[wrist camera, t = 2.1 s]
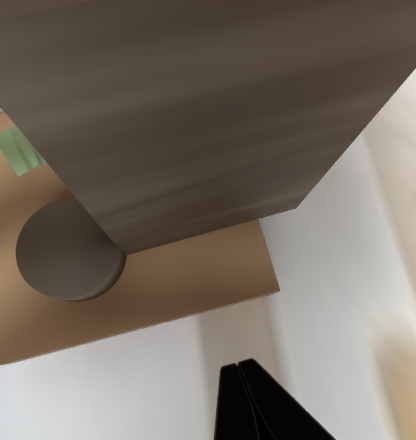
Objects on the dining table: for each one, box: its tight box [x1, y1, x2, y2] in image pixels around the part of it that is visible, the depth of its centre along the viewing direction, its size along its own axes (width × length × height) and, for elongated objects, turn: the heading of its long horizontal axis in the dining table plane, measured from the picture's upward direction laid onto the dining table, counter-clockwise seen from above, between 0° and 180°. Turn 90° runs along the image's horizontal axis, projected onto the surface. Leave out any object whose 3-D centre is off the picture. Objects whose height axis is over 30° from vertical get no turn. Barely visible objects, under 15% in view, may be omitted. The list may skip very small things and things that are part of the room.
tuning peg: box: [0, 0, 416, 302], centre depth 13 cm, size 9×13×14 cm
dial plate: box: [0, 112, 280, 365], centre depth 20 cm, size 13×14×2 cm
